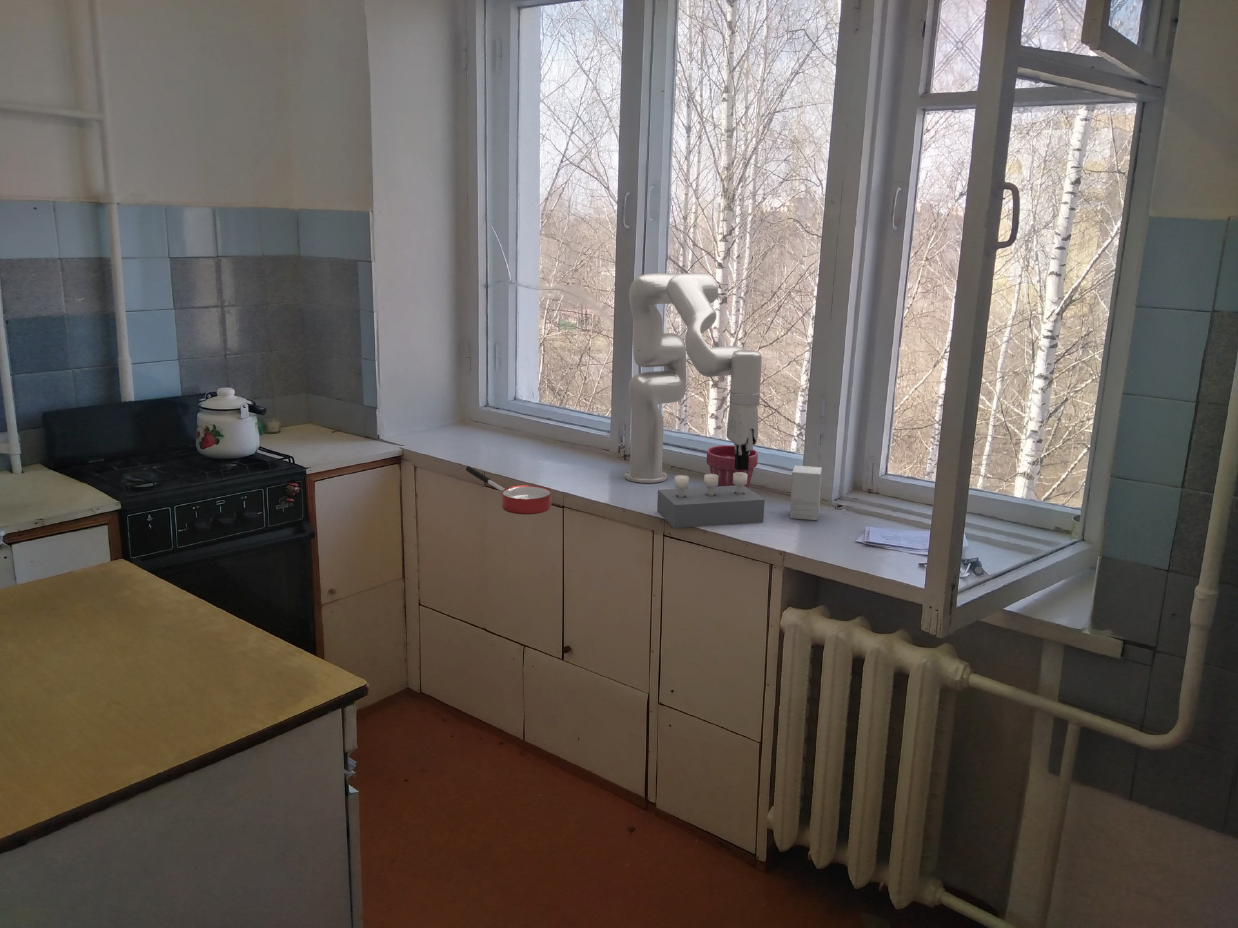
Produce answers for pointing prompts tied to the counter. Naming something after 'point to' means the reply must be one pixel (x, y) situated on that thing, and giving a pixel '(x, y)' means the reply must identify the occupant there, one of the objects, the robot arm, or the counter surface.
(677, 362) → the robot arm
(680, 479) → the knob
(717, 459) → the plant pot
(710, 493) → the knob
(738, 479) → the knob
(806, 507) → the supplement box
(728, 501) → the control box
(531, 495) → the red saucepan
